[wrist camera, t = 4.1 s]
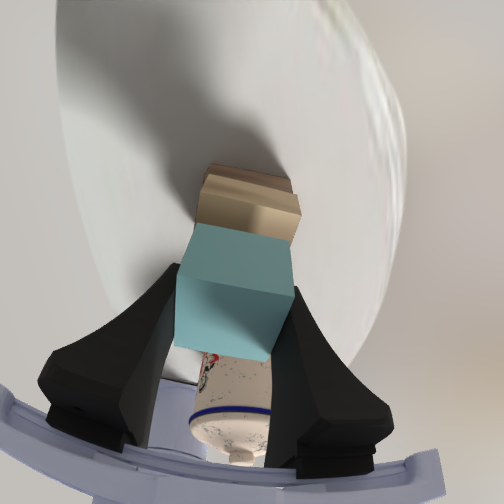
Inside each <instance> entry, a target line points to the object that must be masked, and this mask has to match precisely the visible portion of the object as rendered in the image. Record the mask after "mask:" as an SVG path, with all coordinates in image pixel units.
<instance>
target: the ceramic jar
mask: <svg viewBox="0 0 504 504" xmlns="http://www.w3.org/2000/svg"><path fill="white" fill-rule="evenodd" d="M271 397H272V372H271V354H270V356H269V358H268V360H267V362H263V361H256V360H249V359H243V358H237V357H231V356H225V355H219V354H213V353H208V352H204V353H203V359H202V364H201V370H200V375H199V381H198V387H197V392H196V398H195V404H194V410H193V415H191V417H190V418H189V422H188V423H189V428H190V431H191V433H192V435H193V436H194V437H195V438H196V439H198V440H199V441H201V442H203V443H205V444H207V445H210V446H212V447H215V448H216V449H217V450H219V451H220V452H222V453H224V454H227V455H230V456H229V462H230V463H231V464H232V465H236V466H246V467H248V466H251V465H253V464H254V462H255V457H257V456H261V455H264V454H266V449H267V441H268V432H269V422H270V411H271Z"/></svg>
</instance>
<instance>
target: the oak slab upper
mask: <svg viewBox="0 0 504 504" xmlns="http://www.w3.org/2000/svg"><path fill="white" fill-rule="evenodd" d="M301 216H302V215H301V211H300V206H299V201H298V197H297V195H296V194H292V193H288V192H284V191H280V190H276V189H272V188H268V187H264V186H260V185H256V184H252V183H248V182H243V181H239V180H235V179H230V178H226V177H221V176H217V175H212V174H209V175H208V177H207V179H206V181H205V183H204V185H203V187H202V189H201V191H200V195H199V200H198V206H197V212H196V218H195V224H194V229H195V227H196V224H197V223H202V224H207V225H212V226H218V227H223V228H228V229H233V230H238V231H243V232H248V233H253V234H258V235H263V236H268V237H273V238H278V239H283V240H288V241H289V244H290V246H291V243H292V240H293V238H294V235H295V232H296V230H297V227H298V224H299V221H300V219H301ZM193 232H194V231H193Z"/></svg>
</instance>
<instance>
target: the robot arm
mask: <svg viewBox="0 0 504 504" xmlns="http://www.w3.org/2000/svg"><path fill="white" fill-rule="evenodd" d="M180 265H181V264H177V263H172V264H171V265H170V266H169V267H168V269H167V270H166V271H165V272H164V273H163V274H162V276H161V277H160V278H159V279H158V280H157V281H156V282H155V283H154V284H153V285H152V286H151V287H150V288H149V289H148V290H147V291H146V292H145V293H144V294H143V295H142V296H141V297H140V298H139V299H138V300H136V301H135V302H134V303H133V304H132V305H131V306H130V307H129V308H127V309H126V310H125V311H124V312H122V313H121V314H120V315H118V316H117V317H116V318H114V319H113V320H111V321H110V322H109V323H107V324H106V325H104V326H103V327H101V328H100V329H98V330H96V331H95V332H93V333H91V334H89V335H87V336H85V337H84V338H82V339H80V340H78V341H76V342H74V343H72V344H70V345H67V346H65V347H62V348H60V349H58V350H55V351H53V352H52V354H51V356H50V357H49V358H48V360H47V362H46V364H45V365H44V367H43V369H42V371H41V374H40V376H39V378H38V385H39V387H40V389H41V391H42V392H43V393H44V395H45V396H46V397H47V399H48V400H49V401H50V403H51V407H50V409H49V412H48V414H46V413H44V412H42V411H40V410H38V409H36V408H33V407H31V406H30V405H28V404H26V403H24V402H22V401H20V400H18V399H16V398H15V397H14V395H13V394H12V393H11V392H10V391H9V390H8V389H7V388H6V387H5V386H3V385H1V384H0V450H2V451H4V452H5V453H7V454H8V455H10V456H12V457H13V458H15V459H16V460H18V461H20V462H22V463H23V464H25V465H27V466H29V467H30V468H32V469H34V470H36V471H38V472H40V473H42V474H44V475H46V476H47V477H50V478H52V479H54V480H56V481H58V482H60V483H62V484H65V485H67V486H69V487H71V488H73V489H76V490H78V491H80V492H83V493H86V494H88V495H90V496H93V502H92V504H424V503H426V502H430V501H432V500H435V499H438V498H440V497H443V496H445V495H446V490H445V485H444V479H443V474H442V468H441V463H440V458H439V454H438V450H437V449H431V450H427V451H422V452H418V453H415V454H413V455H411V456H409V457H407V458H406V459H405V460H399V461H394V462H387V463H380V464H374V462H373V455H372V454H375V453H376V448H375V444H377V443H378V442H380V441H381V440H383V439H384V438H386V437H387V436H388V435H390V434H391V433H392V431H393V429H394V423H393V418H392V414H391V410H390V407H389V405H387V404H386V403H384V401H382V400H381V399H380V398H378V397H377V396H376V395H375V394H373V393H372V392H371V391H370V390H369V389H368V388H366V386H365V385H363V384H362V383H361V382H360V381H359V380H358V379H357V378H356V377H355V376H354V375H353V373H352V372H351V371H350V370H349V369H348V368H347V367H346V366H345V364H344V363H343V362H342V361H341V360H340V358H339V357H338V356H337V354H336V353H335V352H334V350H333V349H332V348H331V346H330V345H329V343H328V342H327V340H326V339H325V337H324V336H323V334H322V332H321V331H320V329H319V327H318V326H317V324H316V322H315V320H314V318H313V317H312V315H311V313H310V311H309V309H308V307H307V305H306V303H305V301H304V299H303V297H302V295H301V293H300V291H299V289H298V287H297V286H294V293H295V298H294V300H293V303H292V305H291V307H290V310H289V312H288V315H287V317H286V319H285V322H284V324H283V326H282V329H281V331H280V333H279V336H278V338H277V340H276V342H275V345H274V347H273V349H272V352H271V372H272V397H271V411H270V422H269V432H268V441H267V449H266V456H265V463H264V468H259V467H246V466H236V465H227V464H219V463H212V462H208V461H206V453H207V446H208V445H207V444H205V443H203V442H201V441H199V440H198V439H196V438H195V437H194V436H193V435H192V433H191V431H190V428H189V423H188V422H189V418H190V417H191V415H193V410H194V404H195V398H196V392H197V387H198V386H193V385H188V384H183V383H179V382H174V381H170V380H165V379H161V374H162V370H163V367H164V363H165V360H166V357H167V355H168V352H169V349H170V346H171V343H172V341H173V338H174V332H175V302H176V282H177V273H178V270H179V268H180ZM155 402H156V403H155ZM274 487H284V488H283V489H279V488H274Z"/></svg>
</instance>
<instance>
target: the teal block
mask: <svg viewBox="0 0 504 504" xmlns="http://www.w3.org/2000/svg"><path fill="white" fill-rule="evenodd" d="M294 298H295V293H294V282H293V272H292V263H291V253H290V244H289V241H288V240H283V239H278V238H273V237H268V236H263V235H258V234H253V233H248V232H243V231H238V230H233V229H228V228H223V227H218V226H212V225H207V224H202V223H197V224H196V227H195V229H194V232H193V234H192V237H191V239H190V242H189V244H188V247H187V249H186V252H185V255H184V257H183V260H182V262H181V265H180V268H179V270H178V273H177V282H176V302H175V332H174V346H178V347H183V348H188V349H193V350H198V351H203V352H208V353H213V354H219V355H225V356H231V357H237V358H243V359H249V360H256V361H263V362H267V360H268V358H269V356H270V354H271V352H272V349H273V347H274V345H275V342H276V340H277V338H278V336H279V333H280V331H281V329H282V326H283V324H284V322H285V319H286V317H287V315H288V312H289V310H290V307H291V305H292V303H293V300H294Z"/></svg>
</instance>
